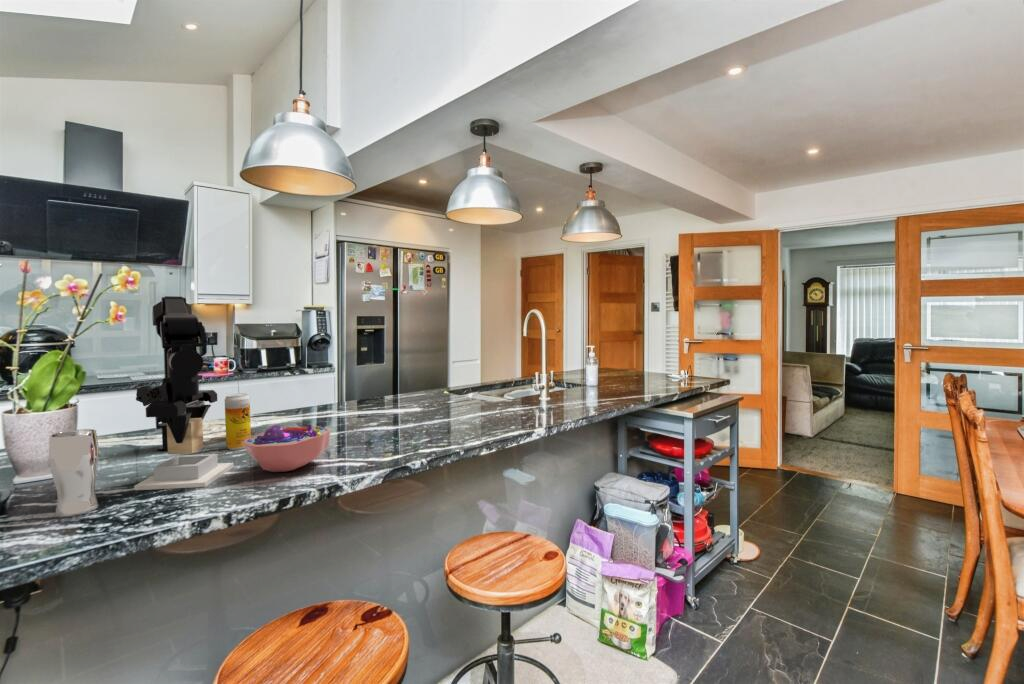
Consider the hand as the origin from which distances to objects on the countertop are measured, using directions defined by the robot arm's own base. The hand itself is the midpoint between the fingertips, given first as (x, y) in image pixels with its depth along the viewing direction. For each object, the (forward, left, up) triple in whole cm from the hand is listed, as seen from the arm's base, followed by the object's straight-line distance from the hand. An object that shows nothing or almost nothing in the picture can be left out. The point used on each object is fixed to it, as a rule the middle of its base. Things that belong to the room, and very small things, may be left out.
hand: (185, 440), depth 109 cm
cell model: (-4, +21, -9) cm, 23 cm away
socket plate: (0, 0, -9) cm, 9 cm away
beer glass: (+17, -11, -9) cm, 22 cm away
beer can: (-25, +1, -9) cm, 27 cm away
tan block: (0, 0, -3) cm, 2 cm away
